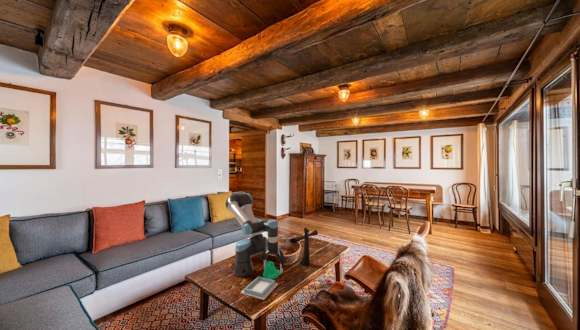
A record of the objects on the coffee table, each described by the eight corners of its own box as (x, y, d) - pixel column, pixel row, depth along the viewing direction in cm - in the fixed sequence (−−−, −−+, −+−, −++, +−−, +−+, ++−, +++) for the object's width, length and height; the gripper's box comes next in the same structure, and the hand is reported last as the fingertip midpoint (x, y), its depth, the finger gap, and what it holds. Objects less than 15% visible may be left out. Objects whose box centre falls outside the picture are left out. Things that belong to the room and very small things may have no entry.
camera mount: (270, 281, 159) (270, 266, 159) (262, 277, 164) (262, 263, 164) (281, 274, 168) (281, 261, 168) (274, 271, 173) (274, 258, 173)
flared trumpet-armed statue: (295, 272, 171) (295, 233, 171) (286, 268, 178) (286, 230, 177) (320, 259, 193) (320, 224, 193) (312, 256, 200) (312, 222, 200)
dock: (240, 293, 144) (240, 288, 144) (256, 279, 161) (256, 275, 161) (263, 300, 138) (263, 295, 137) (277, 284, 154) (277, 280, 154)
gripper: (255, 240, 167) (256, 269, 167) (286, 245, 157) (286, 276, 157) (260, 237, 174) (261, 265, 174) (290, 242, 164) (291, 271, 164)
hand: (273, 270), depth 165 cm, fingers open, 13 cm apart
